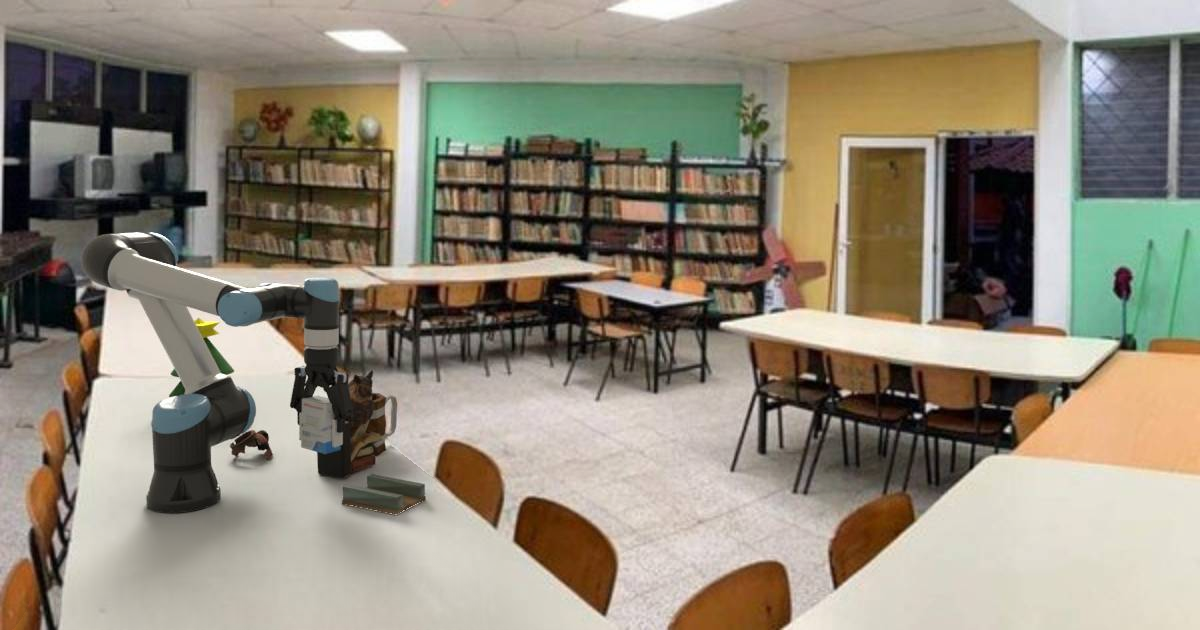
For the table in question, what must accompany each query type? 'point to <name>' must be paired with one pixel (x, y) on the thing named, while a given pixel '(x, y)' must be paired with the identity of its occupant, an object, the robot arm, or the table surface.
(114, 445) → the table surface
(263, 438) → the brown carved ornament
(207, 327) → the decorative tree
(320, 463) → the bookend
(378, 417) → the mug
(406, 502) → the track
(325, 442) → the ink box
